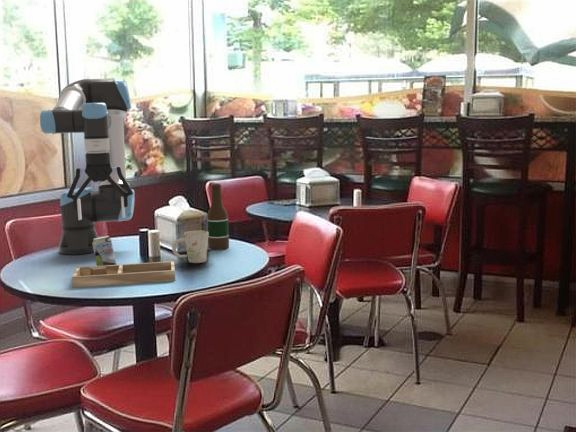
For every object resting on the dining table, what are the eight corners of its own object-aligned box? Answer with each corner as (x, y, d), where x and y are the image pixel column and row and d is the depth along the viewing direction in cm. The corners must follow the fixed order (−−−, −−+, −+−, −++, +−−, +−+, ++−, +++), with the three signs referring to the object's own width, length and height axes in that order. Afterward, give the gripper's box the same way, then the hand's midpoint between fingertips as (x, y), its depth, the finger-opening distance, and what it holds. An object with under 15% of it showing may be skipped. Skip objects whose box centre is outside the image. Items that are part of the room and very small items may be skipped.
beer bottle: (208, 246, 268) (205, 183, 264) (228, 245, 269) (226, 182, 265) (208, 250, 260) (205, 185, 256) (229, 249, 261) (226, 184, 257)
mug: (211, 262, 241) (210, 233, 239) (174, 266, 238) (173, 236, 236) (207, 257, 249) (206, 229, 247) (171, 260, 245) (169, 232, 244)
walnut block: (90, 279, 218) (89, 267, 217) (103, 277, 220) (102, 265, 219) (94, 282, 215) (93, 269, 214) (107, 280, 217) (106, 267, 216)
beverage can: (112, 275, 227) (109, 238, 225) (90, 274, 228) (88, 238, 226) (120, 270, 233) (118, 234, 231) (99, 270, 235) (97, 234, 233)
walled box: (78, 279, 223) (77, 267, 222) (174, 273, 228) (173, 261, 227) (73, 290, 210) (72, 277, 209) (175, 283, 215) (174, 270, 214)
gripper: (54, 154, 218) (60, 222, 222) (137, 151, 223) (141, 218, 226) (58, 152, 226) (63, 218, 229) (138, 149, 230) (141, 214, 233)
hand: (102, 218), depth 228 cm, fingers open, 13 cm apart
